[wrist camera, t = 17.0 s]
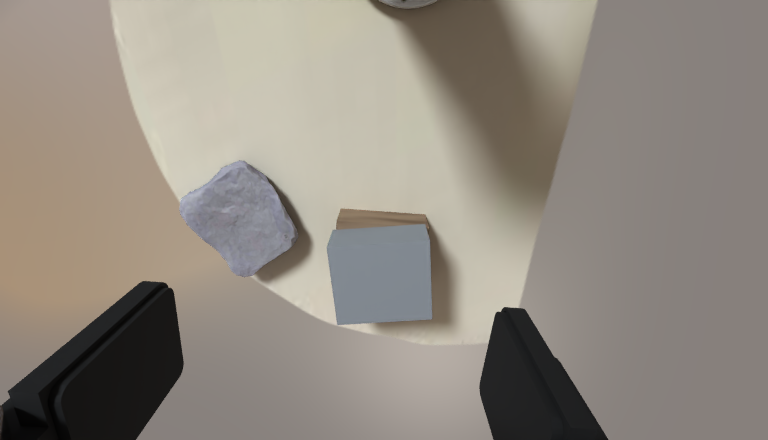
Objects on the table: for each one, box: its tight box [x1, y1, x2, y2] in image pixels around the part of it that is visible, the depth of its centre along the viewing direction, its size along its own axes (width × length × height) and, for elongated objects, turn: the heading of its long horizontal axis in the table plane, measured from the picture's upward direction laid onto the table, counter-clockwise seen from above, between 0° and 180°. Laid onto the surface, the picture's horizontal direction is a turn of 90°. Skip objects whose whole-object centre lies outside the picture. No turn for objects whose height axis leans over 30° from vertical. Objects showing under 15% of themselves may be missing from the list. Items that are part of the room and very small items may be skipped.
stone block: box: [180, 160, 298, 277], centre depth 42 cm, size 12×5×10 cm
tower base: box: [336, 209, 429, 233], centre depth 43 cm, size 9×10×4 cm
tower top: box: [327, 224, 432, 325], centre depth 39 cm, size 9×10×4 cm
